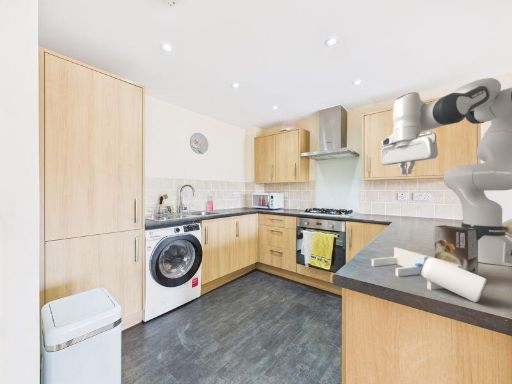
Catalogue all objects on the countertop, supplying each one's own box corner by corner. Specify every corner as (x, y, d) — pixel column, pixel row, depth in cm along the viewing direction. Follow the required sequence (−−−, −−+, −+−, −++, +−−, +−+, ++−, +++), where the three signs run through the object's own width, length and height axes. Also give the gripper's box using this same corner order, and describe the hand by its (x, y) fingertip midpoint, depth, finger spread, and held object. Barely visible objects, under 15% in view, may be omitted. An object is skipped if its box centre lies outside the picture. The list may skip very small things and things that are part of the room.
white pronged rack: (397, 262, 83) (397, 247, 83) (461, 285, 62) (462, 265, 62) (371, 265, 79) (371, 249, 79) (430, 290, 59) (430, 269, 59)
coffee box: (479, 280, 66) (480, 229, 66) (468, 284, 64) (469, 230, 64) (444, 270, 74) (444, 224, 74) (433, 273, 72) (433, 225, 72)
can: (486, 285, 49) (423, 259, 58) (475, 307, 51) (417, 279, 60) (489, 275, 53) (430, 252, 62) (479, 296, 55) (424, 271, 64)
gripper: (442, 130, 71) (442, 172, 71) (389, 143, 91) (389, 176, 91) (428, 129, 70) (428, 171, 70) (377, 143, 89) (377, 176, 89)
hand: (406, 174), depth 80 cm, fingers closed
